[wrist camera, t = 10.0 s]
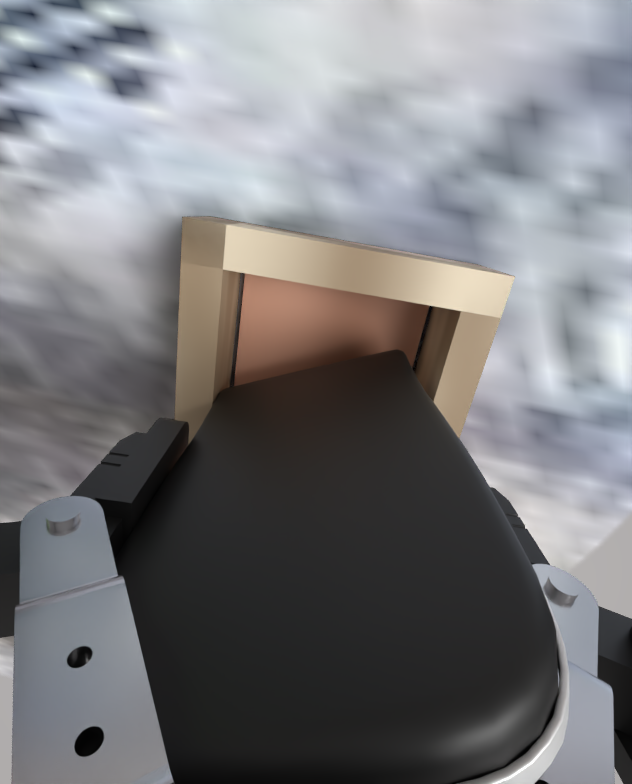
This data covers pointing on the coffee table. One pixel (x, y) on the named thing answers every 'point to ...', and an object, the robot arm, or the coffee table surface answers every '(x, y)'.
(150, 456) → the robot arm
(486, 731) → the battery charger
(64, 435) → the coffee table surface
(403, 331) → the slot organizer
